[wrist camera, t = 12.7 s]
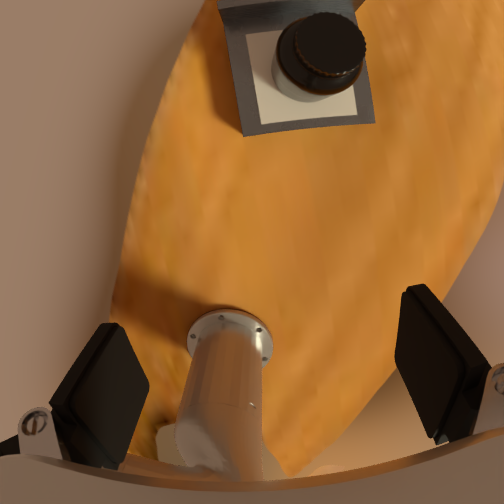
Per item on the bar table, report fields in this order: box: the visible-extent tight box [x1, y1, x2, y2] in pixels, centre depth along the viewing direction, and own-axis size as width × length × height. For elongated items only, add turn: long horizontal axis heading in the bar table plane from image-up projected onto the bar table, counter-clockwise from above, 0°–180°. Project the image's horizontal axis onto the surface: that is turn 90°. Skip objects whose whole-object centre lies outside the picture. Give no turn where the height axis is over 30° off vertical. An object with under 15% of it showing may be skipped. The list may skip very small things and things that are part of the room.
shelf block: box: [217, 0, 375, 137], centre depth 27 cm, size 14×14×8 cm
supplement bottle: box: [271, 12, 366, 103], centre depth 21 cm, size 7×7×12 cm
